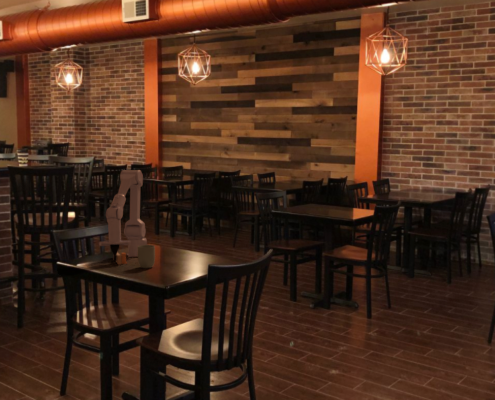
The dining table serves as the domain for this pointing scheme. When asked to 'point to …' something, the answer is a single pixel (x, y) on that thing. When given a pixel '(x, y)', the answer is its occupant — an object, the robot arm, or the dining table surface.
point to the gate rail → (119, 258)
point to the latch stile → (123, 258)
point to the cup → (146, 256)
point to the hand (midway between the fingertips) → (115, 260)
